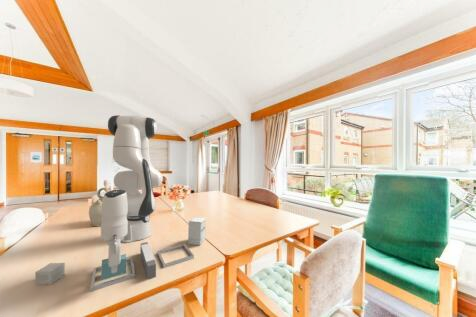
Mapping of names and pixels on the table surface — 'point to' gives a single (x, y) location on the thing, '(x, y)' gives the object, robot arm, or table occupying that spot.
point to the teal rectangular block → (107, 270)
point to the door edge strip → (148, 260)
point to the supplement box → (196, 231)
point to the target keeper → (94, 287)
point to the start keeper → (175, 260)
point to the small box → (49, 273)
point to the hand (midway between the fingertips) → (114, 265)
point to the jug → (97, 210)
